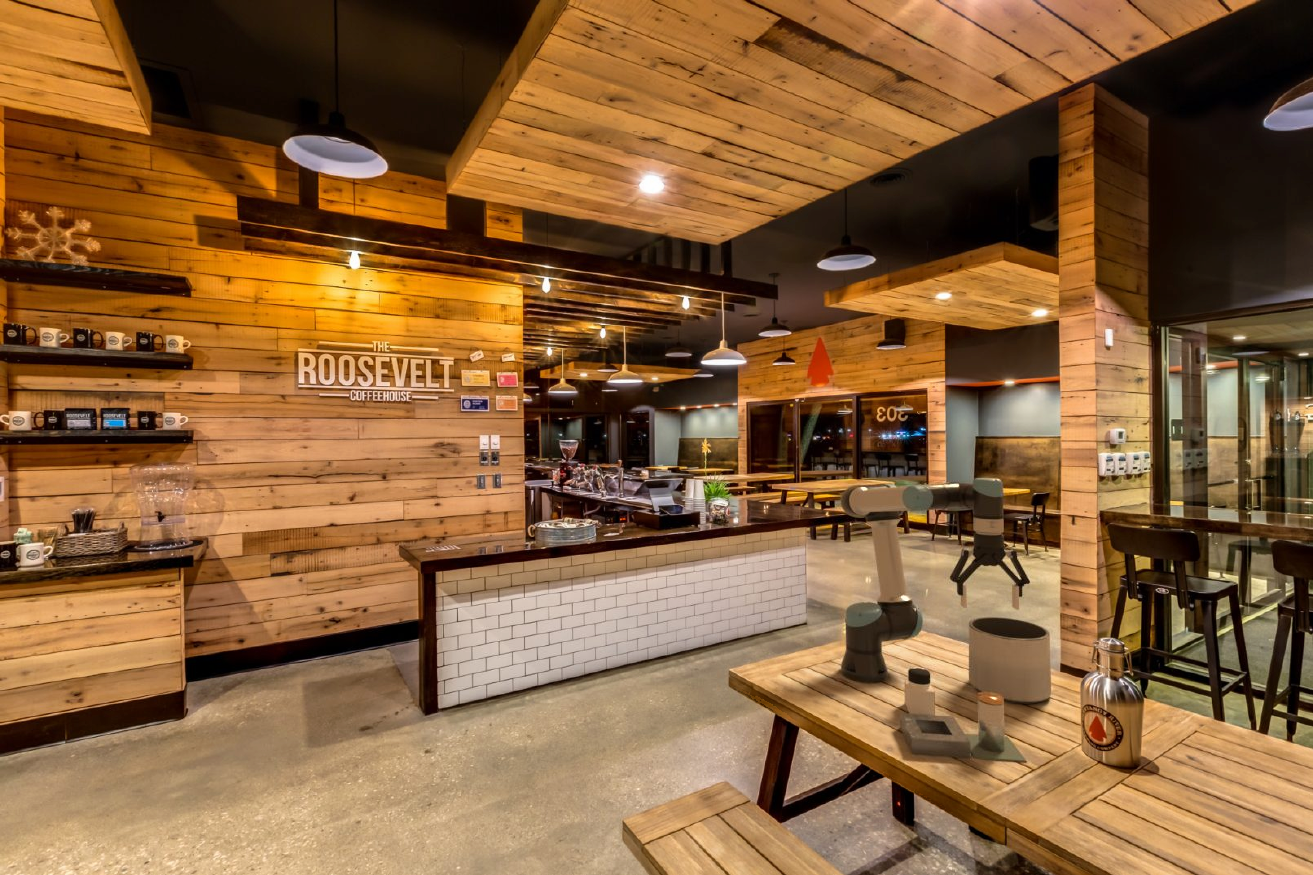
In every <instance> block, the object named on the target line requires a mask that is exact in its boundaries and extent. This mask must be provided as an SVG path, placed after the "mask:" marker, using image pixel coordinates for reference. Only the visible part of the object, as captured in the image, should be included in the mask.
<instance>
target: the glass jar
mask: <svg viewBox="0 0 1313 875" xmlns="http://www.w3.org/2000/svg"><path fill="white" fill-rule="evenodd" d="M977 732H978V733H977V735H978V740H979V746H980V747H981V748H983V749H985V750H987V751H991V752H1003V751H1004V750H1005V701H1004V698H1003V697H1002V696H1001V695H999V694H996V693H992V692H980V691H978V693H977Z"/></svg>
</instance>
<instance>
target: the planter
mask: <svg viewBox="0 0 1313 875" xmlns="http://www.w3.org/2000/svg"><path fill="white" fill-rule="evenodd" d="M1050 638H1051V635H1050V632H1049V631H1048V629H1046V628H1045V627H1043V626H1041V625H1038V624H1035V623H1032V622H1029V621H1027V620H1026V621H1025V620H1020V619H1015V618H1010V617H998V616H997V617H996V616H987V617H986V616H985V617H977V618H974V619H971V620H970V621H969V622H968V680H969V683H970V685H971V686H972V687H973V688H974V689H975V690H977V691H978V692H992V693H996V694H999V695H1001V696H1002V697H1003V698H1004V702H1007V703H1014V704H1023V705H1028V704H1029V705H1032V704H1038V703H1041V702H1045V701H1046V700H1049V698H1050V697H1051V696H1052V675H1051V674H1052V670H1051V642H1050V641H1051V639H1050Z"/></svg>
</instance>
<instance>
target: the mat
mask: <svg viewBox="0 0 1313 875" xmlns="http://www.w3.org/2000/svg"><path fill="white" fill-rule="evenodd" d="M964 734H965V735H966V737H967V738H968V740H969V741H970V752H971V754H972V756H973V758H974V759H976V760H988V761H989V760H990V761H993V760H994V761H1002V762H1003V761H1004V762H1019V763H1028V760H1027V759H1026V758H1025V757H1024V756H1023V754H1022V753H1021V751H1020V750H1019V749H1018V747H1016V745H1015V744H1014V743H1013V741H1012V740H1011V739H1010V737H1008V736H1005V750H1004V751H1003V752H991V751H987V750H985V749H983V748H981V747H980V746H979V740H978V733H977V734H974V733H973V734H972V733H964Z"/></svg>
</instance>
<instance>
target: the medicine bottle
mask: <svg viewBox="0 0 1313 875" xmlns="http://www.w3.org/2000/svg"><path fill="white" fill-rule="evenodd" d="M907 671H908V672H907V677H908V678H907V680H904V684H903V685H904V705H905V706H906V709H907V712H908V714H920V715H936V692H935V690H934V688H933V686H932V685H931V672H930V671H929V670H927V669H926V668H923V667H919V666H916V667H915V666H914V667H910V668H909V669H908V670H907Z"/></svg>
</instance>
